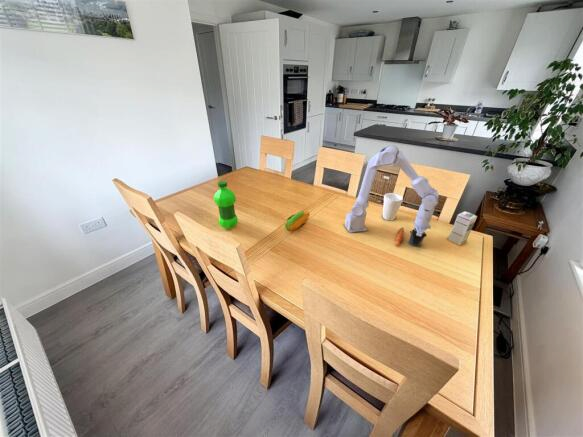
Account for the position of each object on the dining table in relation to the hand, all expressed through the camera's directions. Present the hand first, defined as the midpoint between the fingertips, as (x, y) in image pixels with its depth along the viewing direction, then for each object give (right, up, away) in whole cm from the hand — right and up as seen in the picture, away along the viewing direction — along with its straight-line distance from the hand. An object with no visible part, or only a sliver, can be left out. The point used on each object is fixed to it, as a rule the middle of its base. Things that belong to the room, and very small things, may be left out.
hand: (415, 240), depth 111 cm
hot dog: (-56, +7, +14) cm, 58 cm away
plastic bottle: (-92, +6, +14) cm, 93 cm away
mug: (0, -1, +1) cm, 2 cm away
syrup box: (+21, 0, +3) cm, 21 cm away
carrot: (-6, 0, +4) cm, 7 cm away
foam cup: (-4, +11, +21) cm, 24 cm away
